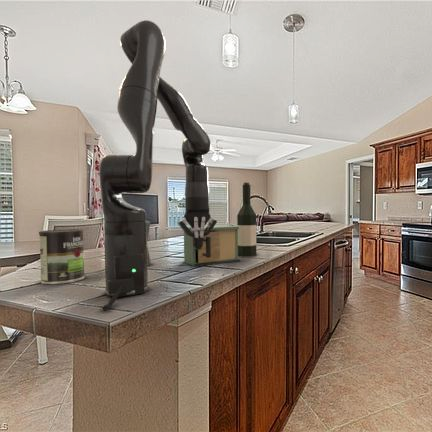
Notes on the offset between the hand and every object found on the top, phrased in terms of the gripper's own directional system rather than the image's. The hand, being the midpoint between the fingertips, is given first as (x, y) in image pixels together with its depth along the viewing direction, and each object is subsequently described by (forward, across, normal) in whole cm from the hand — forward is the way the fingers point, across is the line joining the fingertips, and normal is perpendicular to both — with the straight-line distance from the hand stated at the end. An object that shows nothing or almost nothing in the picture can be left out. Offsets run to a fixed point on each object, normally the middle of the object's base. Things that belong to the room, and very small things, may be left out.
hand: (198, 248), depth 105 cm
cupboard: (+7, +9, +10) cm, 15 cm away
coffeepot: (+7, -15, +20) cm, 26 cm away
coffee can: (+7, -36, +8) cm, 38 cm away
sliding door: (+6, +6, +2) cm, 8 cm away
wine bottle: (+7, +27, +16) cm, 32 cm away
